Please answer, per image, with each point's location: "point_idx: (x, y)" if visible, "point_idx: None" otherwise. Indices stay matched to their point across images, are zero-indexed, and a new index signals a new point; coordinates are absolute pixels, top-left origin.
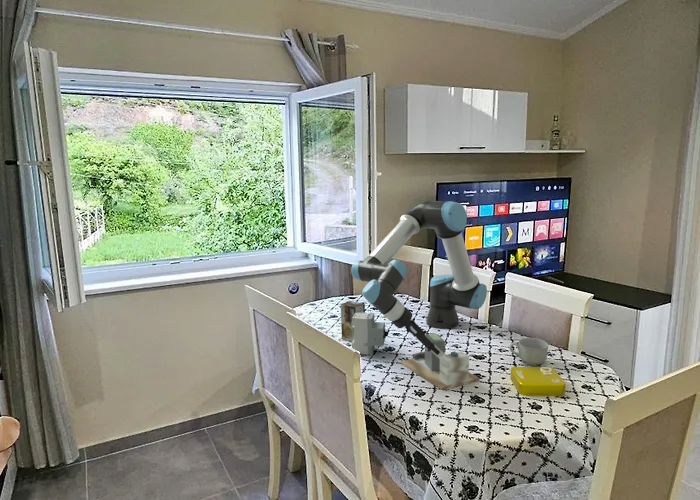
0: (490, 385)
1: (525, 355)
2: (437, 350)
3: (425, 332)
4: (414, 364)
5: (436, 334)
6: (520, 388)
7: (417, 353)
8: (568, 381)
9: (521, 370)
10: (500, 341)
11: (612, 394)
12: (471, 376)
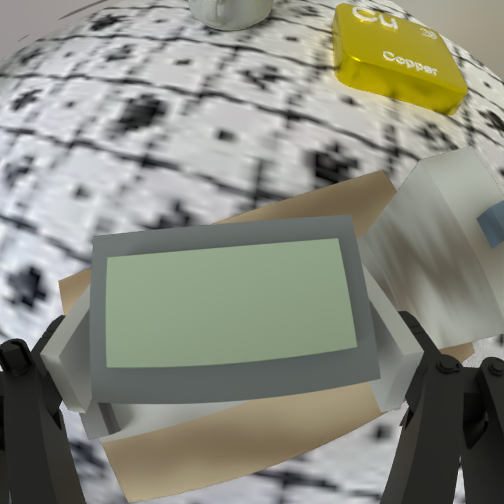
0: (414, 157)
1: (257, 6)
2: (423, 333)
3: (18, 355)
4: (184, 452)
5: (147, 257)
6: (459, 103)
7: None
8: None
9: (376, 48)
10: (62, 55)
11: (401, 8)
12: (372, 193)
